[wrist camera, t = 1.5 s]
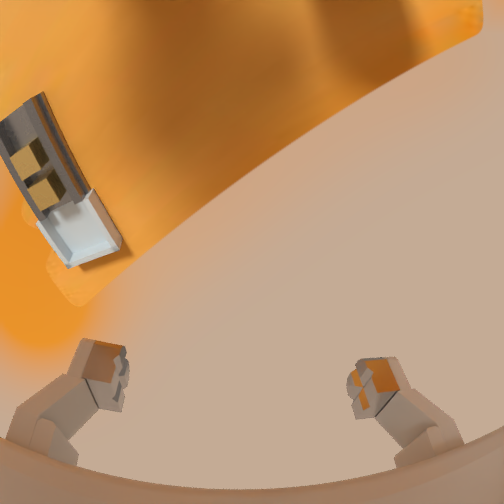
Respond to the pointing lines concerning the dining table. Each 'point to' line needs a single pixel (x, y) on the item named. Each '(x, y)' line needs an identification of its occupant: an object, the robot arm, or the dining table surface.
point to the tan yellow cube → (29, 159)
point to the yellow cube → (47, 190)
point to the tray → (81, 231)
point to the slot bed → (47, 130)
